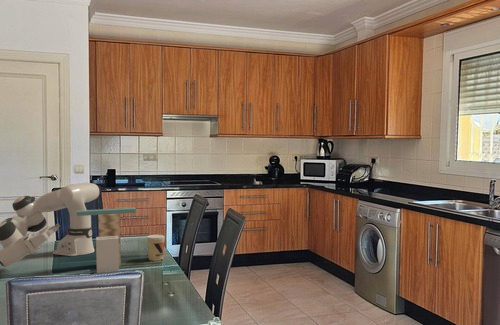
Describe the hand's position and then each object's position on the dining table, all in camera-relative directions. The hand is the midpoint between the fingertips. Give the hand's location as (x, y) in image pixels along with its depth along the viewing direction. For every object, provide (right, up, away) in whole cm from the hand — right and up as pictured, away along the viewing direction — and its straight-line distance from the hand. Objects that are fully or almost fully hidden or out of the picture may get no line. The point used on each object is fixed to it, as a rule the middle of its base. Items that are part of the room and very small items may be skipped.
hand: (57, 226), depth 218 cm
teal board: (+22, +6, +7) cm, 23 cm away
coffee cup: (+43, -20, +20) cm, 52 cm away
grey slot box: (+25, -21, -3) cm, 33 cm away
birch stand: (+23, -20, +8) cm, 32 cm away
